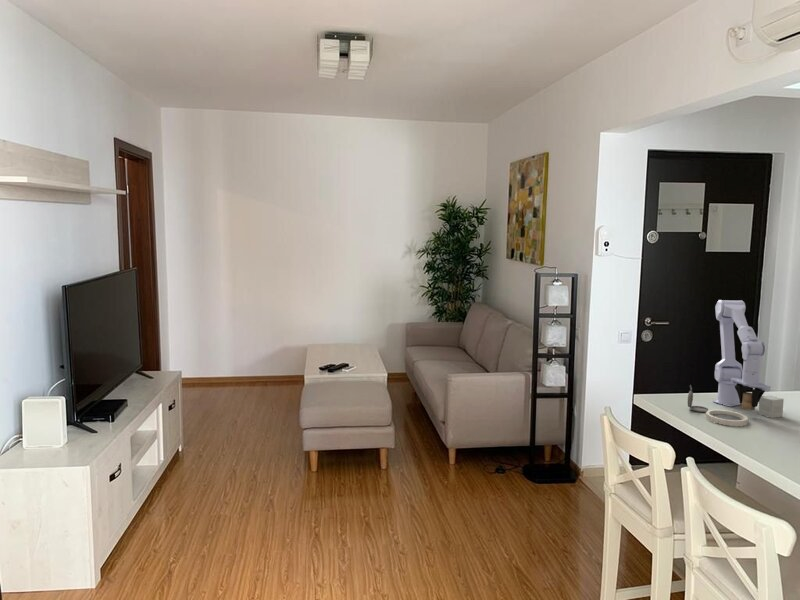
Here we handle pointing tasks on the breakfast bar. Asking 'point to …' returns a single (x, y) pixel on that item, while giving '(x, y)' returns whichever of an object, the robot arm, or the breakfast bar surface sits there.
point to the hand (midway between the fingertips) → (748, 404)
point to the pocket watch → (694, 408)
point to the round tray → (727, 417)
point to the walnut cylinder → (747, 401)
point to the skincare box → (771, 406)
